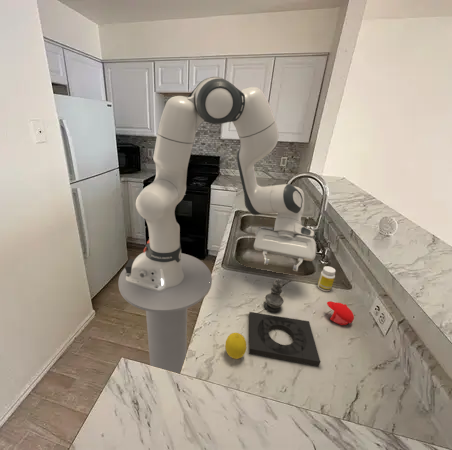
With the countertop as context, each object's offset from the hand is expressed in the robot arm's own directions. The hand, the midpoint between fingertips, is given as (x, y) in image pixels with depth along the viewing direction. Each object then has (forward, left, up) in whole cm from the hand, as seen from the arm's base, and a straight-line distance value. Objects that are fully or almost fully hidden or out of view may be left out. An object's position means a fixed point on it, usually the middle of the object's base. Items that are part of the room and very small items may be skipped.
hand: (280, 267), depth 87 cm
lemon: (-13, -28, -12) cm, 33 cm away
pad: (0, -19, -12) cm, 23 cm away
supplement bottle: (+19, +9, -12) cm, 24 cm away
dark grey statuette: (-1, -6, -12) cm, 14 cm away
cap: (+19, -7, -12) cm, 24 cm away
